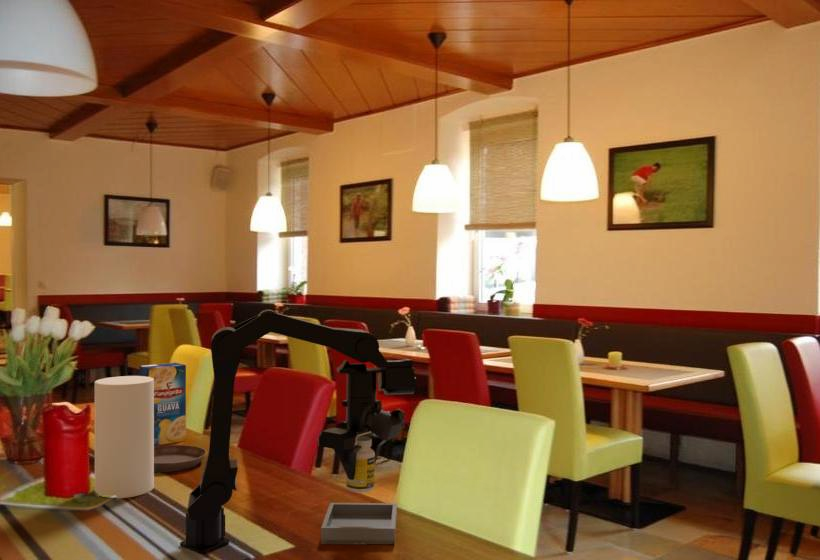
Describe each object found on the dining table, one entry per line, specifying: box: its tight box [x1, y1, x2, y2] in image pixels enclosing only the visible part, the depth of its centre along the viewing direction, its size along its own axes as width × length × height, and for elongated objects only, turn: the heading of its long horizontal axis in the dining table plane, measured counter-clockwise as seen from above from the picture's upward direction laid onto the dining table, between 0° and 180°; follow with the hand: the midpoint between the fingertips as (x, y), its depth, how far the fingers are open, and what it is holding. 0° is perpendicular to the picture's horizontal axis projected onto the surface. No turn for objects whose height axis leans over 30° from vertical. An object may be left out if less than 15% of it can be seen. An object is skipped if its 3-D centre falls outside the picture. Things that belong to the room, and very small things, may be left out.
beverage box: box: [138, 362, 187, 447], centre depth 203 cm, size 7×11×22 cm, turn 133°
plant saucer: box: [154, 444, 207, 473], centre depth 181 cm, size 18×18×3 cm
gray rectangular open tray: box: [320, 502, 398, 545], centre depth 137 cm, size 14×14×3 cm
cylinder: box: [94, 375, 155, 499], centre depth 160 cm, size 12×12×25 cm
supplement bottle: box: [345, 436, 376, 493], centre depth 137 cm, size 5×5×10 cm
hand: (360, 475), depth 137 cm, fingers closed on supplement bottle, 5 cm apart
